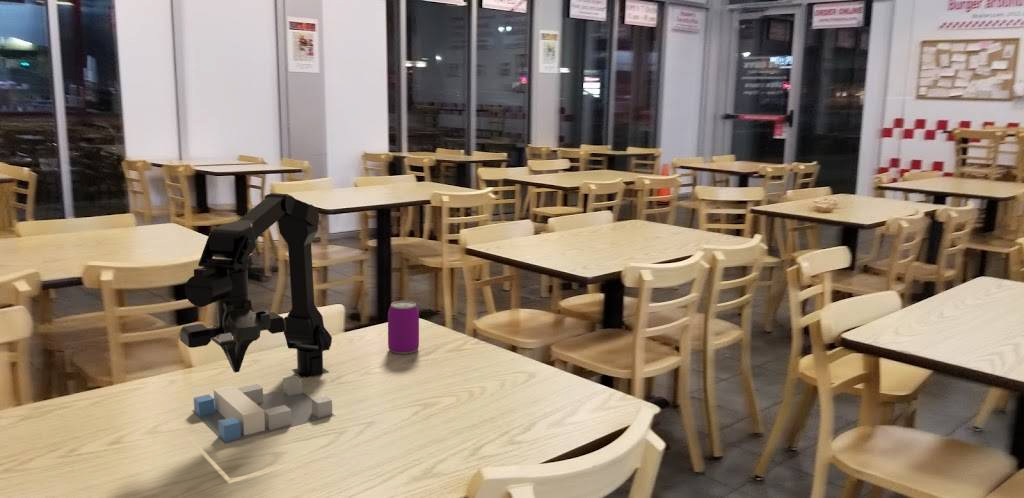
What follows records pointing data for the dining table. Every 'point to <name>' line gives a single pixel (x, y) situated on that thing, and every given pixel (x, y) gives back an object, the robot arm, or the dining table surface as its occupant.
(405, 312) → the beverage can
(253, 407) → the long white plank
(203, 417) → the miniature block city
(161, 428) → the dining table surface
